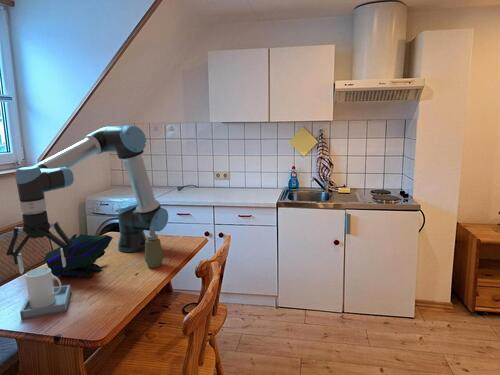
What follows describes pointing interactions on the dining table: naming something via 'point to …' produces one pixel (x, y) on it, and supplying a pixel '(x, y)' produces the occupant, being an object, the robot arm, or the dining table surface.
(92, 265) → the decorative plant
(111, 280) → the dining table surface
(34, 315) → the slate tray
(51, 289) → the mug
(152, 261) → the squeeze bottle
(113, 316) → the dining table surface
